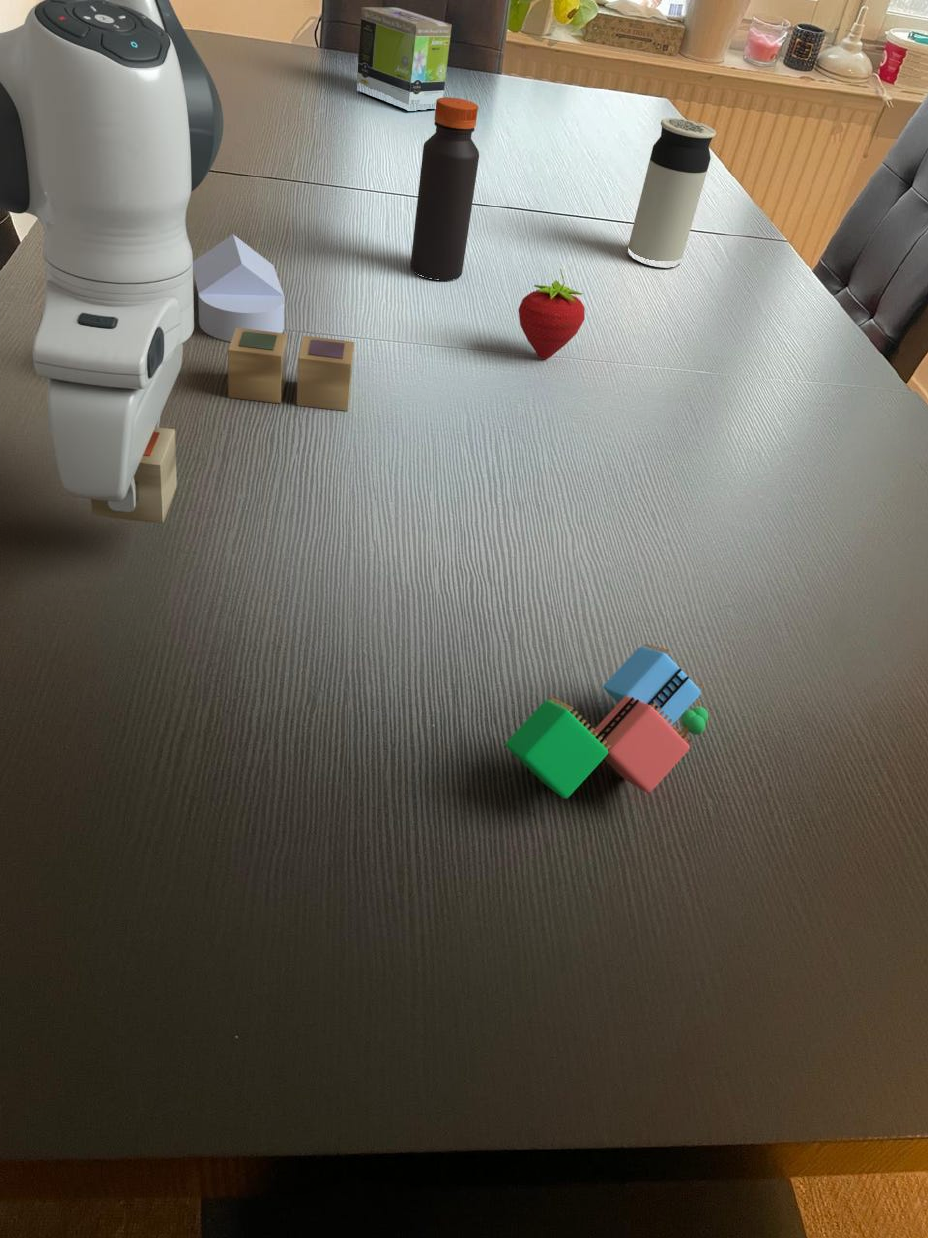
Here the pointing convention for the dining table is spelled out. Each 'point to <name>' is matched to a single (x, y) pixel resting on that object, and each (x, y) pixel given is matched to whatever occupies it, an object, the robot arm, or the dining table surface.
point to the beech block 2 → (324, 373)
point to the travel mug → (671, 190)
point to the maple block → (150, 481)
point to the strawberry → (551, 317)
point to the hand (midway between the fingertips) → (134, 482)
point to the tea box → (403, 54)
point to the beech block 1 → (257, 365)
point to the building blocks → (616, 728)
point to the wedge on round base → (237, 291)
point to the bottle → (446, 191)
